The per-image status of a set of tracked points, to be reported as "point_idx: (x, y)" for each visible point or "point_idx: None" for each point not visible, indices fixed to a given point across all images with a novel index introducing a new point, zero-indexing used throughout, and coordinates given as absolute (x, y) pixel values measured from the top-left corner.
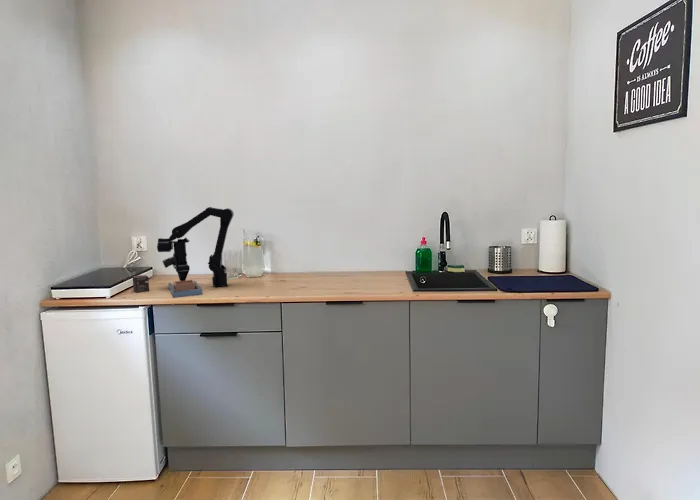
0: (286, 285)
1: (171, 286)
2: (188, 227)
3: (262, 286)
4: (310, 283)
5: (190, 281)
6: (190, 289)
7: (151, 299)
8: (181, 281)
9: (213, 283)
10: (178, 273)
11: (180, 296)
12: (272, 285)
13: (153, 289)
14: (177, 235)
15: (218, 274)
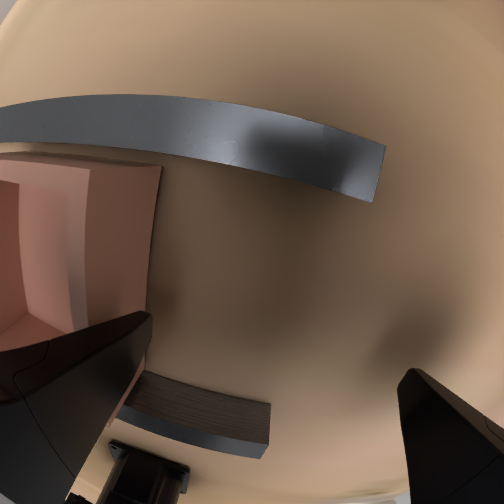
0: (81, 488)
1: (57, 118)
2: None
3: (81, 476)
4: (92, 501)
5: None
6: (15, 286)
7: (18, 3)
8: (74, 308)
9: (125, 461)
10: (468, 435)
11: None
12: (89, 486)
13: (385, 6)
14: None
15: (68, 496)
